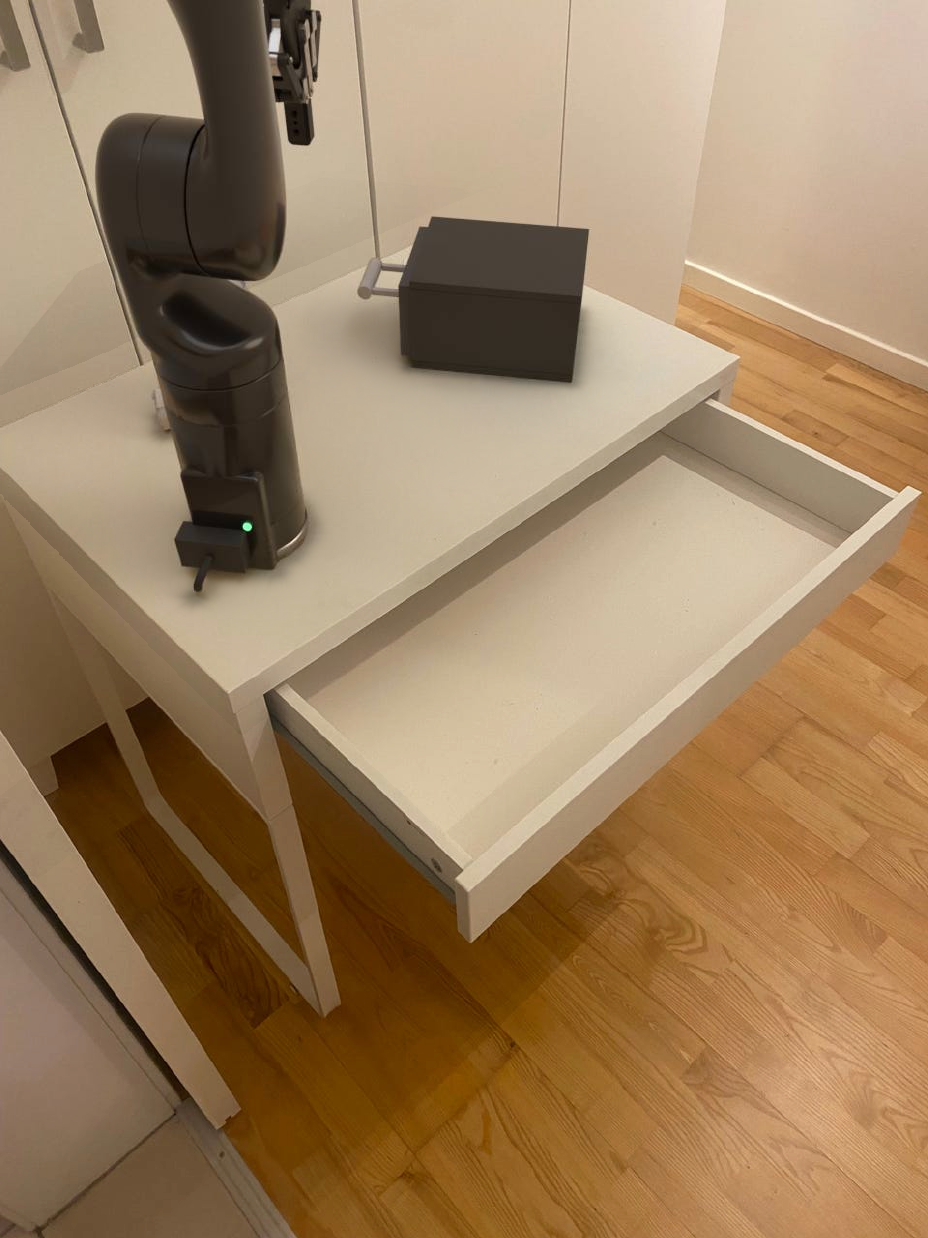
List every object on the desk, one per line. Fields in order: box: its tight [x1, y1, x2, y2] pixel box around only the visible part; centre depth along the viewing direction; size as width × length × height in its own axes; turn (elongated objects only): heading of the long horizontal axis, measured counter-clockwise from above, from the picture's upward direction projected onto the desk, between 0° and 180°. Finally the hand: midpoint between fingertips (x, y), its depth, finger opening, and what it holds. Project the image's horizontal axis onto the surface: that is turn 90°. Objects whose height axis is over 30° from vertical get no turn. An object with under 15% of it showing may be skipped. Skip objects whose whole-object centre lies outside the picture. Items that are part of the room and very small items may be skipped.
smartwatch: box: [151, 387, 171, 431], centre depth 90 cm, size 4×2×4 cm, turn 16°
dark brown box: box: [409, 215, 590, 383], centre depth 99 cm, size 17×14×10 cm
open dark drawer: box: [356, 226, 428, 357], centre depth 100 cm, size 20×12×8 cm, turn 82°
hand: (301, 141), depth 90 cm, fingers closed
